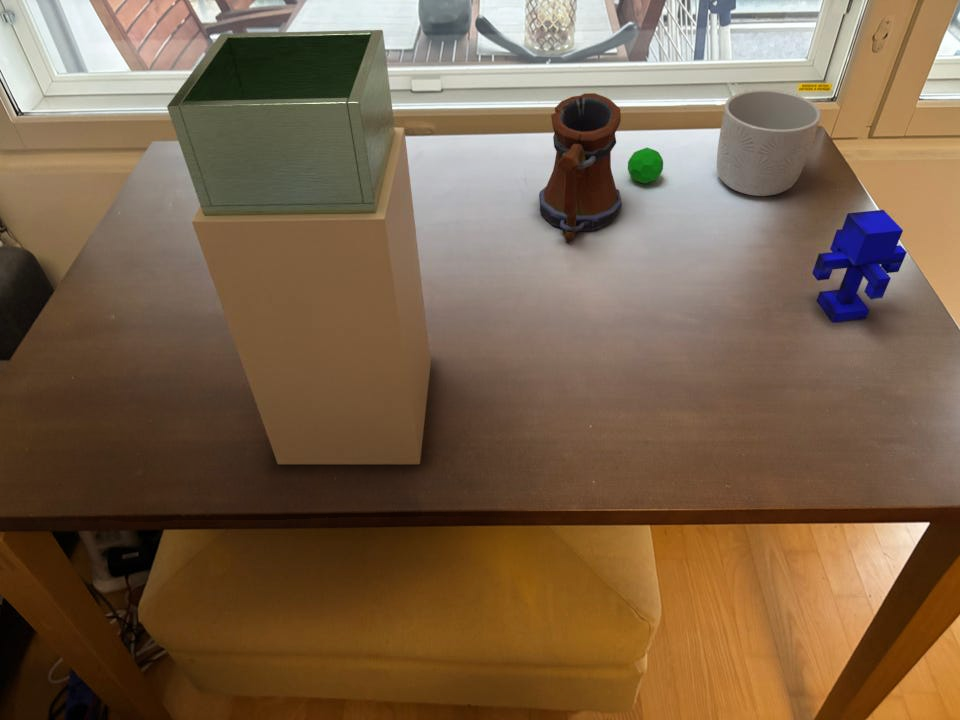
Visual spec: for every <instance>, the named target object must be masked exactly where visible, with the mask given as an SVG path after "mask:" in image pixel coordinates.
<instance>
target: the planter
mask: <svg viewBox="0 0 960 720" xmlns="http://www.w3.org/2000/svg"><path fill="white" fill-rule="evenodd" d="M821 118H822V113H821V110H820V108H819V107H818V106H817V105H816V104H815V103H813V102H812V101H811V100H809V99H807V98H805V97H803V96H801V95H798V94H794V93H791V92H787V91H782V90H776V89H775V90H774V89H754V90H746V91H742V92H739V93H737V94H736V93H735V94H734V95H732V96H731V97H729V98H728V99H727V100H726V101H725V103H724V107H723V113H722V119H721V126H720V129H719V130H720V131H719V136H718V143H717V152H716V171H717V174H718V177H719V178H720V180H721V181H722V182H723V183H724V185H726V186H727V187H729V188H730V189H732V190H734V191H736V192H739V193H740V194H744V195H749V196H756V197H767V196H773V195H778V194H781V193H784V192H785V191H787V190H789V189H790V188H792V187H793V186H794V185H795V183H796V182H797V181H798V180H799V178H800V175H802V174H801V173H802V171H803V169H804V166H805V164H806V161H807V159H808V157H809V153H810V151H811V148H812V146H813V145H812V144H813V143H814V139H815V136H816V132H817V130H818V127H819V124H820V122H821Z"/></svg>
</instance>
